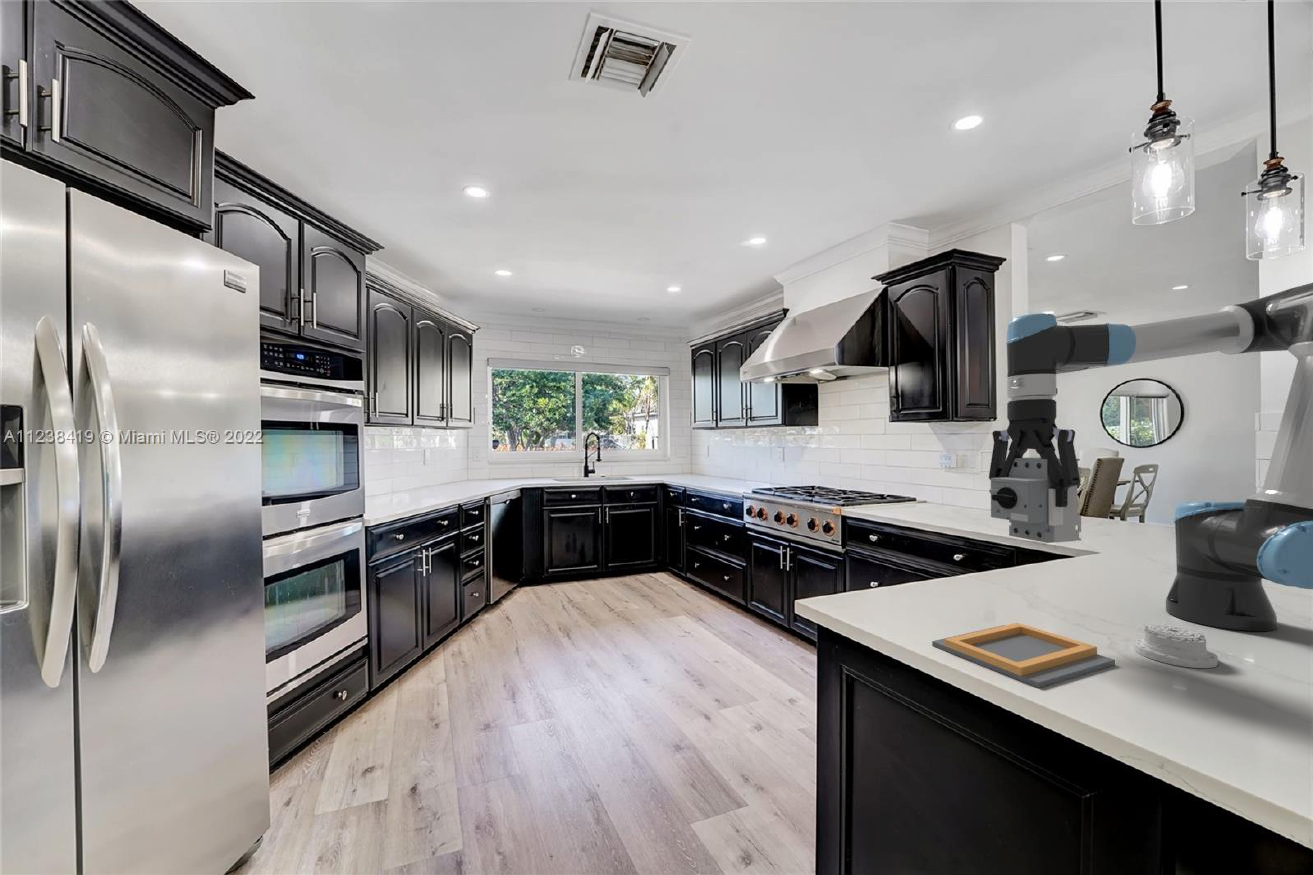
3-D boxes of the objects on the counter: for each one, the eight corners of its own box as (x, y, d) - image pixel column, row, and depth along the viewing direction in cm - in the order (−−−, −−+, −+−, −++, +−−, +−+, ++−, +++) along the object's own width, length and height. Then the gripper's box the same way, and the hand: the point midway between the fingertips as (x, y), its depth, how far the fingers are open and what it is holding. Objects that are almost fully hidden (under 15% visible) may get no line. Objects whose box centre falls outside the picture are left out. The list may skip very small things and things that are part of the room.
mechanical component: (1160, 668, 85) (1236, 672, 83) (1160, 640, 85) (1235, 643, 83) (1120, 644, 95) (1186, 647, 93) (1119, 619, 95) (1186, 622, 93)
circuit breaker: (983, 537, 102) (983, 458, 102) (1041, 533, 106) (1041, 457, 106) (1020, 544, 94) (1020, 459, 95) (1081, 540, 98) (1080, 458, 98)
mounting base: (1004, 629, 103) (1004, 618, 103) (1115, 664, 86) (1114, 652, 86) (932, 645, 95) (932, 634, 95) (1038, 688, 79) (1038, 674, 79)
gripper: (966, 402, 108) (967, 515, 108) (1078, 394, 89) (1079, 531, 89) (993, 403, 111) (993, 513, 111) (1107, 395, 92) (1108, 529, 92)
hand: (1031, 521), depth 100 cm, fingers closed on circuit breaker, 8 cm apart
